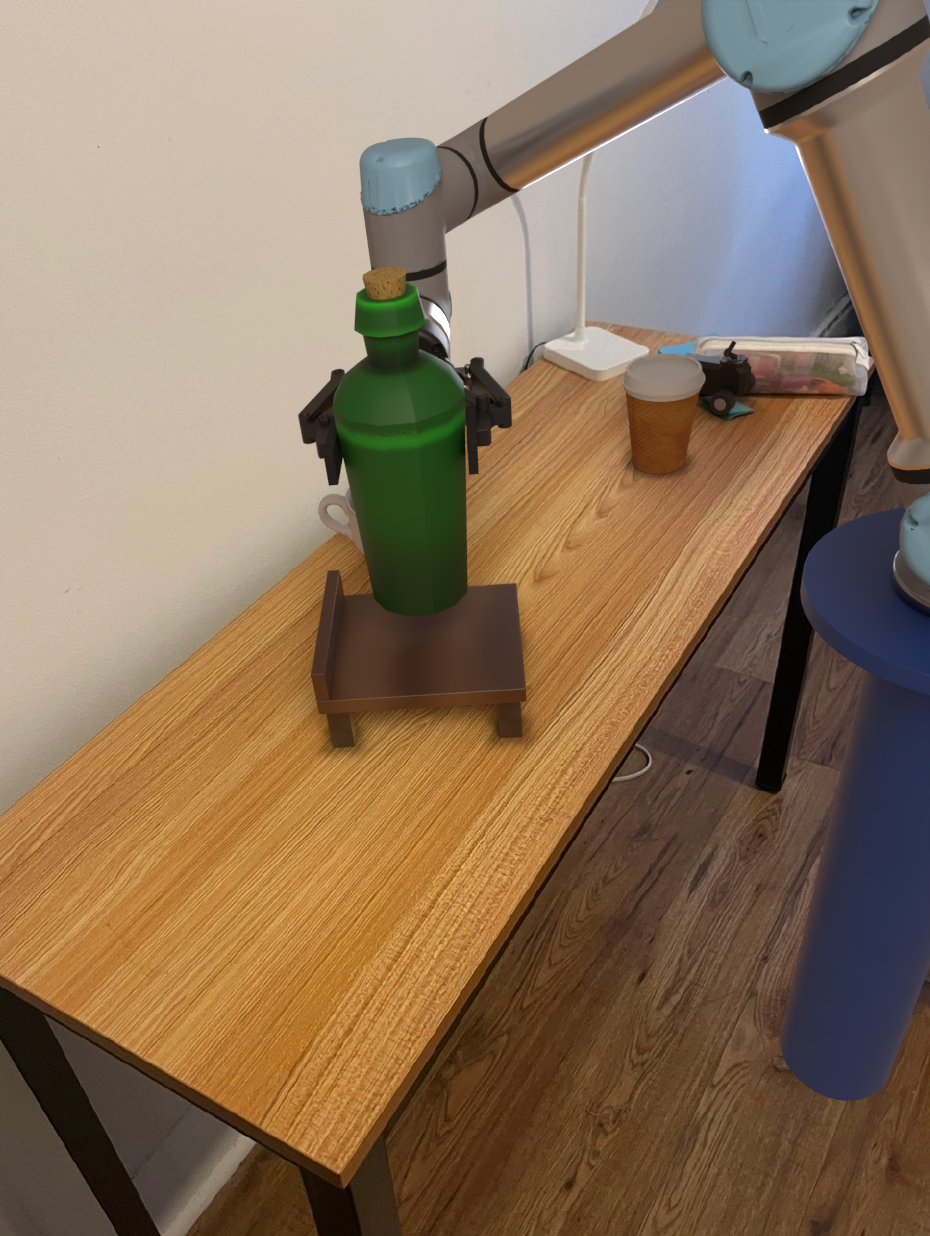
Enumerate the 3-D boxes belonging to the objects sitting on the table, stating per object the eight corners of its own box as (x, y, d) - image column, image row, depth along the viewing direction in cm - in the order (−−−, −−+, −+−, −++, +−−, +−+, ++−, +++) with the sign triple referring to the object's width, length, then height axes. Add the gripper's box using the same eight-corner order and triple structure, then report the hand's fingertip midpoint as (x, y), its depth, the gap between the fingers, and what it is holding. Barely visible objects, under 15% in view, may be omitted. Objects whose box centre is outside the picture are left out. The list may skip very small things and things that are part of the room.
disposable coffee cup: (690, 440, 129) (697, 348, 121) (705, 477, 122) (714, 381, 114) (614, 447, 130) (616, 356, 122) (625, 484, 123) (628, 389, 115)
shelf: (518, 632, 102) (514, 556, 96) (528, 740, 90) (524, 660, 84) (341, 644, 104) (327, 570, 98) (327, 752, 92) (310, 674, 86)
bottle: (460, 550, 97) (434, 241, 79) (496, 611, 88) (476, 282, 71) (351, 575, 95) (299, 267, 77) (378, 640, 87) (327, 311, 69)
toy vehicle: (731, 421, 132) (738, 355, 126) (626, 401, 140) (628, 338, 134) (756, 396, 137) (764, 331, 131) (653, 378, 144) (656, 316, 139)
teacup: (458, 530, 118) (452, 468, 113) (433, 582, 111) (426, 518, 106) (346, 523, 122) (335, 463, 117) (314, 573, 115) (302, 511, 109)
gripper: (533, 380, 97) (550, 495, 80) (297, 401, 99) (265, 517, 82) (531, 301, 93) (549, 406, 76) (283, 324, 95) (246, 431, 78)
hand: (401, 464), depth 79 cm, fingers closed on bottle, 10 cm apart
